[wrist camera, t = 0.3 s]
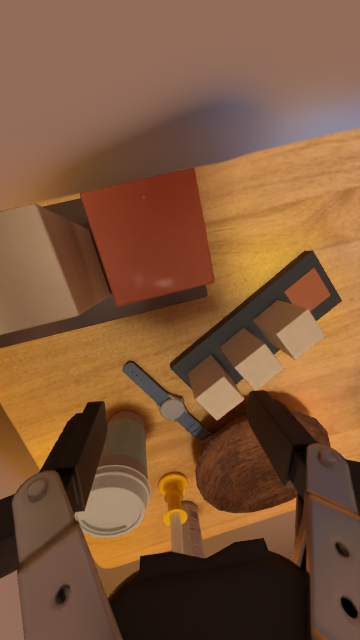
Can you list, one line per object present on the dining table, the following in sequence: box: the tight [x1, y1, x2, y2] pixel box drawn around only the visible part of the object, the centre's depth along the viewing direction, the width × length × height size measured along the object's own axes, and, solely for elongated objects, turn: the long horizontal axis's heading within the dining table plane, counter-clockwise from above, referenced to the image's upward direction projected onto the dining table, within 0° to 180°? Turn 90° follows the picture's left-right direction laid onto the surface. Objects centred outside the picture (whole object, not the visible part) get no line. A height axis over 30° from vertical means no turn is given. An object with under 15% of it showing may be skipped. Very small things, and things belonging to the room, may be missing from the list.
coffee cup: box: [74, 411, 151, 538], centre depth 27 cm, size 9×8×12 cm
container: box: [181, 501, 205, 558], centre depth 32 cm, size 5×5×15 cm
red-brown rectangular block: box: [80, 168, 215, 306], centre depth 11 cm, size 4×4×6 cm
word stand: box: [0, 198, 208, 348], centre depth 17 cm, size 18×8×19 cm, turn 103°
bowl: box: [195, 411, 330, 513], centre depth 34 cm, size 20×22×5 cm
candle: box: [159, 472, 187, 554], centre depth 30 cm, size 5×5×16 cm
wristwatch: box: [123, 362, 212, 444], centre depth 32 cm, size 4×20×1 cm, turn 40°
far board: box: [170, 251, 342, 420], centre depth 27 cm, size 9×25×8 cm, turn 131°
